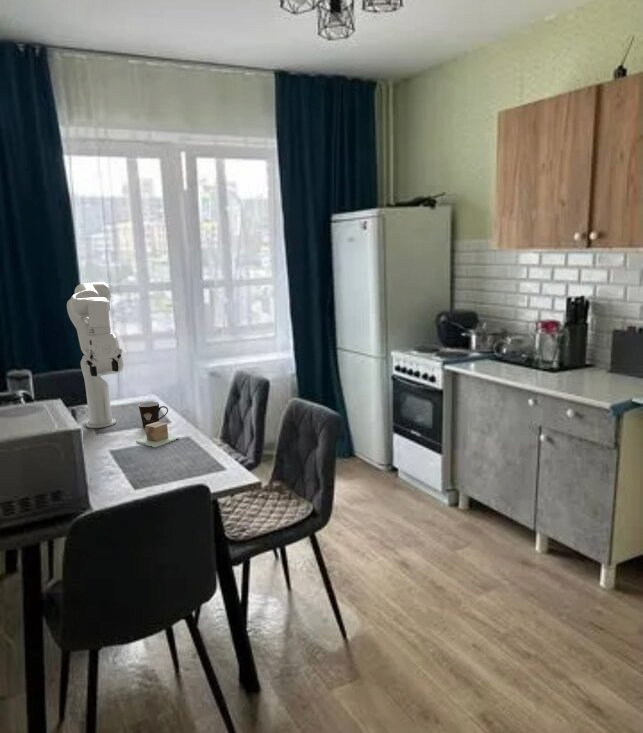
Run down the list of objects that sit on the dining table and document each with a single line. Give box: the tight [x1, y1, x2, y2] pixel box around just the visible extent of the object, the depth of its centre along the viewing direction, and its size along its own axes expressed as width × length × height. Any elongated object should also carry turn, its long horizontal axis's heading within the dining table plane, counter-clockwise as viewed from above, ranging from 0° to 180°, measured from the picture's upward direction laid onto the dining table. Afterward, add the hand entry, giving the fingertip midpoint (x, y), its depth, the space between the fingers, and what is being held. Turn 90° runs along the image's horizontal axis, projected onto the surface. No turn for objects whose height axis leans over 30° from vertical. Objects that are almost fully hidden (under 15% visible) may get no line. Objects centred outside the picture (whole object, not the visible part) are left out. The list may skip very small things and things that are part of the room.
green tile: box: [135, 434, 180, 448], centre depth 239 cm, size 12×12×1 cm
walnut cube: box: [145, 421, 169, 442], centre depth 238 cm, size 6×6×6 cm
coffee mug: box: [138, 401, 169, 429], centre depth 258 cm, size 12×9×10 cm
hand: (105, 373), depth 236 cm, fingers open, 9 cm apart
